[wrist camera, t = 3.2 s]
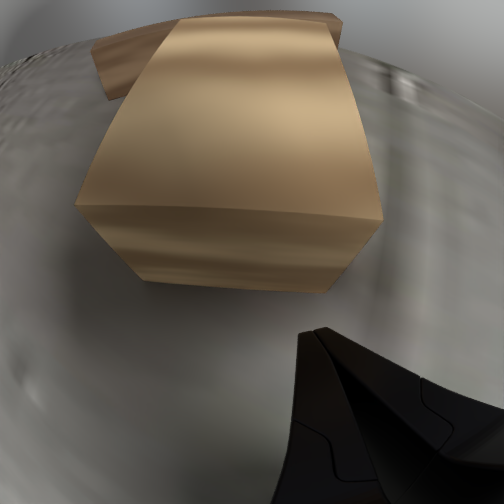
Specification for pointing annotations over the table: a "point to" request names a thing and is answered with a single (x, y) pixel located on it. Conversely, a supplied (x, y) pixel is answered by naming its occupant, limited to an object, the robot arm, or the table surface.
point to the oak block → (237, 161)
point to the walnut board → (152, 36)
